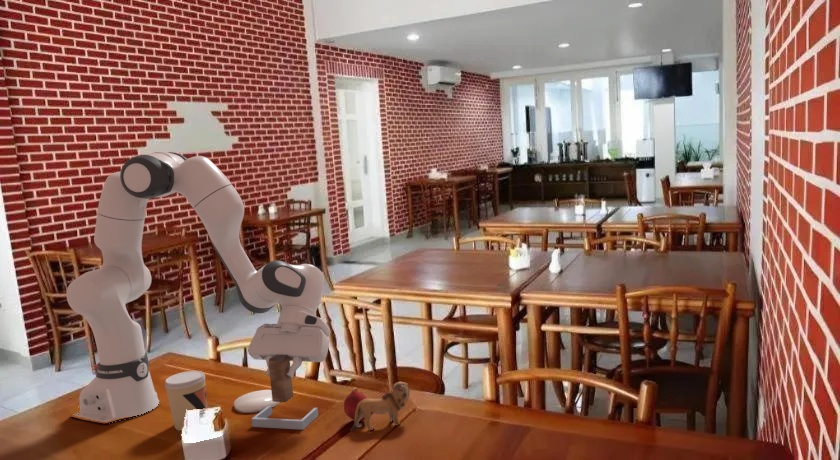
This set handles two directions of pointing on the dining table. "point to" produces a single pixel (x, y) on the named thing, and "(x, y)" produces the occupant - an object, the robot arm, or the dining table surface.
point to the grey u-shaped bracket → (282, 420)
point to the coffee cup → (185, 394)
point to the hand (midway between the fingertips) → (279, 376)
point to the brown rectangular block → (280, 378)
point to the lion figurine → (383, 405)
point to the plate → (254, 401)
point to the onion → (353, 403)
